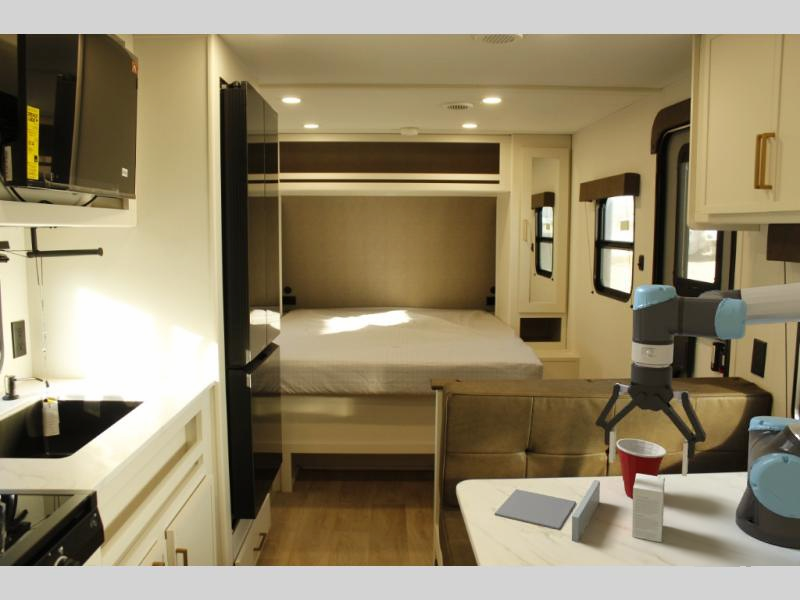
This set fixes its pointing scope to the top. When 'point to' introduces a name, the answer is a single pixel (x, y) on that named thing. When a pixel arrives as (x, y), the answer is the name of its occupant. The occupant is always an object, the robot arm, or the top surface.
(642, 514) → the small box
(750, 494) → the robot arm
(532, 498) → the mat
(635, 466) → the plastic cup
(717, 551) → the top surface
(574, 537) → the low wall
